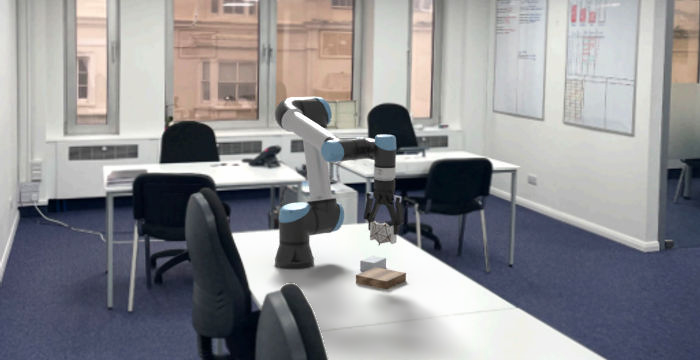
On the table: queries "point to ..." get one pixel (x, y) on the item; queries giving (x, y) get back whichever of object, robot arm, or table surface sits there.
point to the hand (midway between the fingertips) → (383, 241)
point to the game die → (382, 233)
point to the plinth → (380, 278)
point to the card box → (372, 263)
